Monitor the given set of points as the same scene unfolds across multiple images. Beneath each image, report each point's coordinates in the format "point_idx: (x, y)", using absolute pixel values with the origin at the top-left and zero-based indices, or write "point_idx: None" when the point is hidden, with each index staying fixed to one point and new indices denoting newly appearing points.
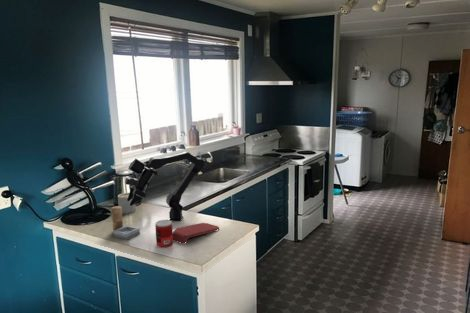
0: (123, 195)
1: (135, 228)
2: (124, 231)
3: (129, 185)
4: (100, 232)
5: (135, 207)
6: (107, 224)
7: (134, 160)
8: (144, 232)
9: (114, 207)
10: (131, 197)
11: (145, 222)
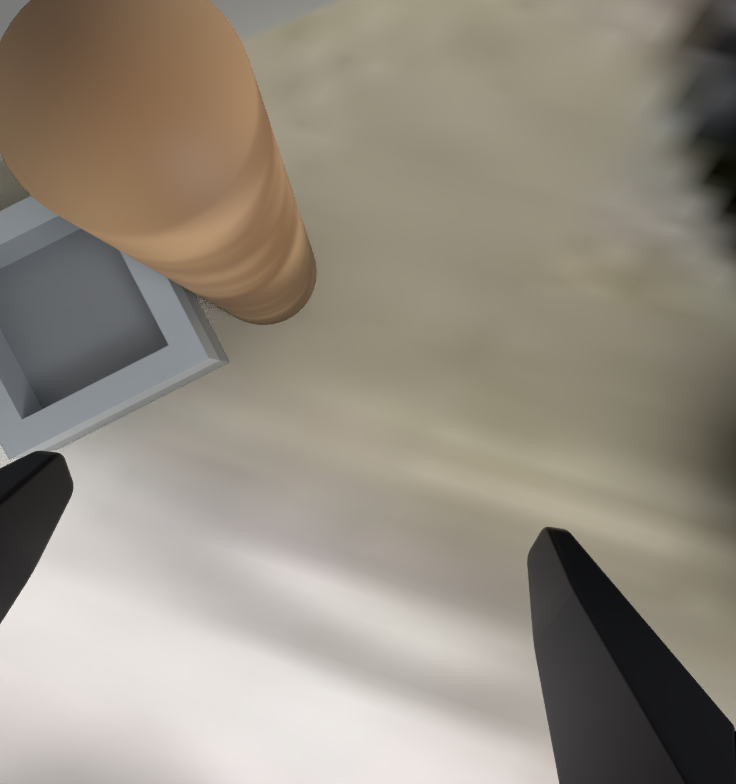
0: None
1: (33, 415)
2: (122, 300)
3: None
4: (344, 99)
5: None
6: (548, 229)
7: None
8: None
9: (175, 58)
10: (562, 705)
11: (359, 616)
